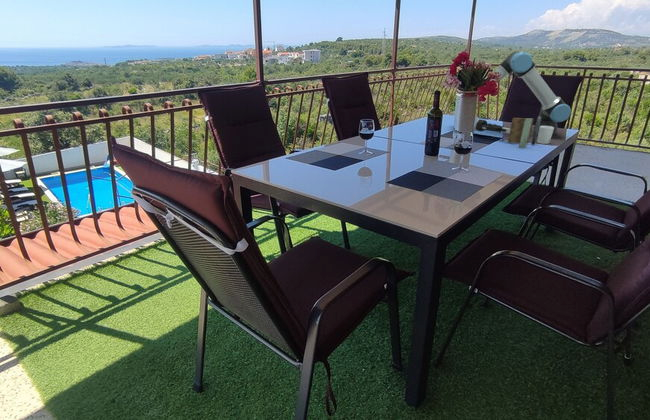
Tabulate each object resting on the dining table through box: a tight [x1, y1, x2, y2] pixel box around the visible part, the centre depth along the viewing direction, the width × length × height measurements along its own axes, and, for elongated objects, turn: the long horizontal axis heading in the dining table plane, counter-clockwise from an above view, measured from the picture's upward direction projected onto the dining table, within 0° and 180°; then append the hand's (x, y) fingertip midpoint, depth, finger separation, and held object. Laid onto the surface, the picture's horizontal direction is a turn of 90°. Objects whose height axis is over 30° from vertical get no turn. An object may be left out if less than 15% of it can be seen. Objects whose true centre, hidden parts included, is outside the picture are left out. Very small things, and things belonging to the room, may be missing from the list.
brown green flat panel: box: [507, 117, 535, 144], centre depth 229 cm, size 12×1×15 cm, turn 84°
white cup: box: [536, 126, 554, 145], centre depth 232 cm, size 8×8×10 cm
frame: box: [518, 115, 542, 149], centre depth 223 cm, size 16×2×17 cm, turn 124°
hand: (511, 131), depth 231 cm, fingers closed
